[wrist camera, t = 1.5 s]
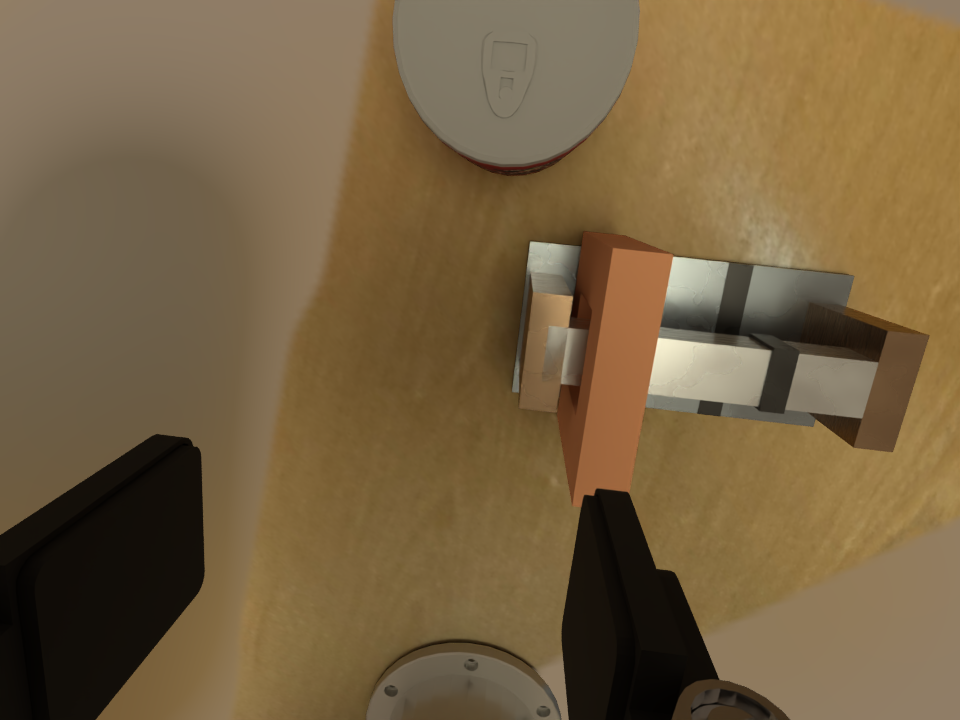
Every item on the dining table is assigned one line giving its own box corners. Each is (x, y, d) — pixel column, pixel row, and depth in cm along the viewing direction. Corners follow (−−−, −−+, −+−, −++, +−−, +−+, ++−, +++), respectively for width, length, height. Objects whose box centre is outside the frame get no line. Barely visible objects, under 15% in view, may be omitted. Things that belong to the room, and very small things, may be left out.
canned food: (454, 189, 30) (418, 186, 19) (422, 16, 28) (363, -92, 17) (607, 160, 29) (656, 140, 19) (585, -21, 27) (626, -158, 17)
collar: (557, 415, 32) (572, 506, 22) (583, 231, 29) (612, 248, 20) (594, 419, 31) (625, 512, 22) (624, 235, 29) (673, 254, 20)
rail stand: (512, 388, 33) (510, 441, 26) (529, 240, 30) (533, 254, 23) (808, 422, 32) (889, 486, 25) (847, 274, 30) (949, 298, 23)
